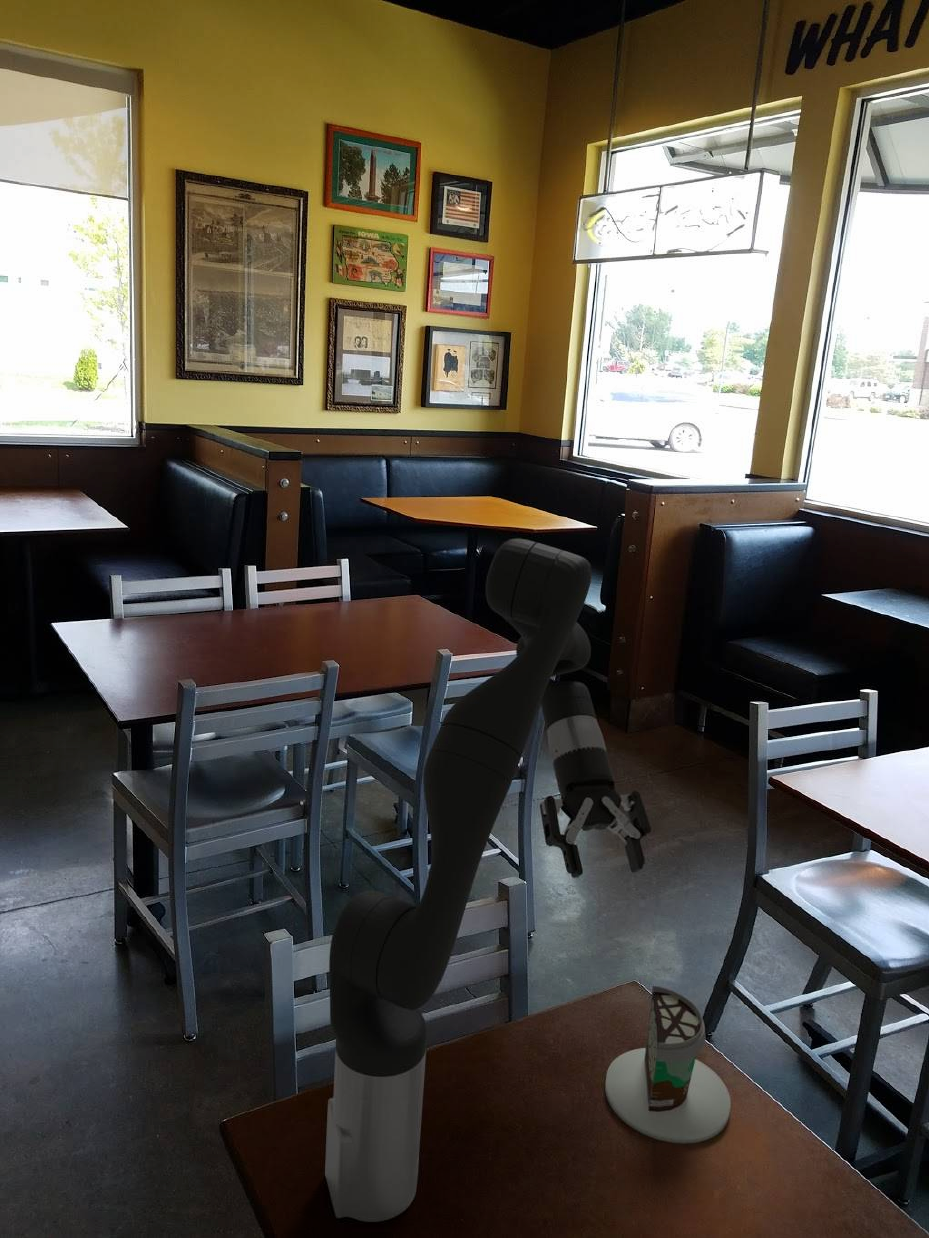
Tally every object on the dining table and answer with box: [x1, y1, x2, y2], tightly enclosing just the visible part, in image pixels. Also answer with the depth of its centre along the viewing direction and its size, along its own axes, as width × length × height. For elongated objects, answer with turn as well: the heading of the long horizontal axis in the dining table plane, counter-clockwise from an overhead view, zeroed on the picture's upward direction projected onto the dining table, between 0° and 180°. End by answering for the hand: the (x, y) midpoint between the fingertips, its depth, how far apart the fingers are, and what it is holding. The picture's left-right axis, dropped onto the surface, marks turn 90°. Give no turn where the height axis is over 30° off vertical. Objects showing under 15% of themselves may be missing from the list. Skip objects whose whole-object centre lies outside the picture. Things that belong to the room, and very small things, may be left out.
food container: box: [645, 985, 707, 1112], centre depth 118 cm, size 12×6×10 cm, turn 173°
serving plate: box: [604, 1047, 732, 1145], centre depth 119 cm, size 15×15×1 cm
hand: (608, 873), depth 124 cm, fingers open, 8 cm apart
